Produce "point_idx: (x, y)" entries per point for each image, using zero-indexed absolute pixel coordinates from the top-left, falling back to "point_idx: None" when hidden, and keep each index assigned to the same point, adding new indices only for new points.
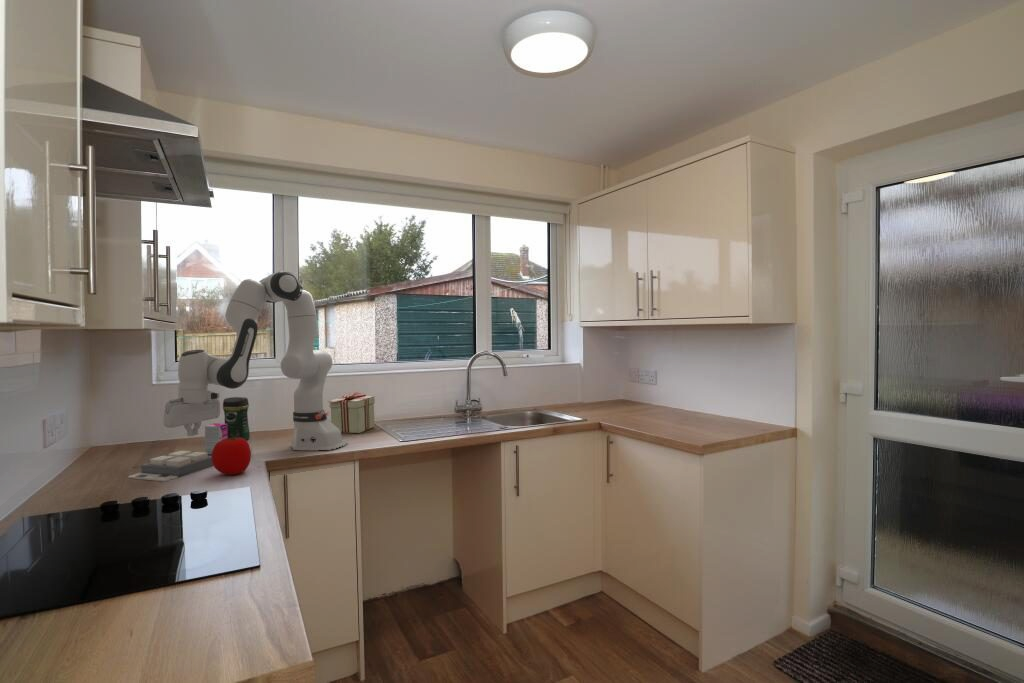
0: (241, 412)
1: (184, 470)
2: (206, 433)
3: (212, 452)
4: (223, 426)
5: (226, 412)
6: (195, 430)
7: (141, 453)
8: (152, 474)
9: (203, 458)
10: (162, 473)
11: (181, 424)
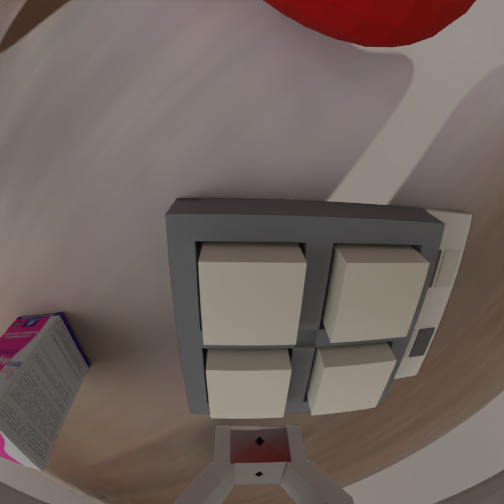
0: None
1: (401, 212)
2: (50, 435)
3: (467, 10)
4: None
5: None
6: (252, 462)
7: (173, 488)
8: None
9: (239, 247)
10: None
11: (476, 497)
